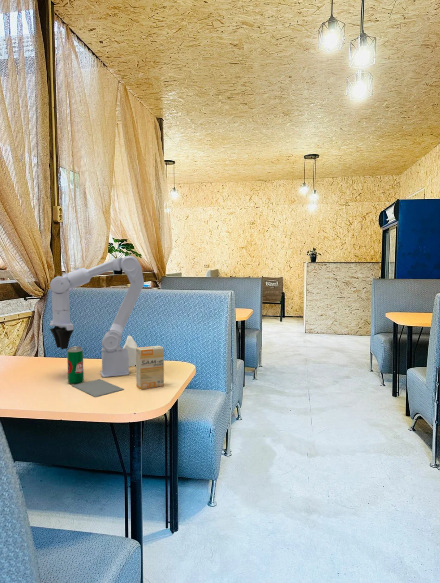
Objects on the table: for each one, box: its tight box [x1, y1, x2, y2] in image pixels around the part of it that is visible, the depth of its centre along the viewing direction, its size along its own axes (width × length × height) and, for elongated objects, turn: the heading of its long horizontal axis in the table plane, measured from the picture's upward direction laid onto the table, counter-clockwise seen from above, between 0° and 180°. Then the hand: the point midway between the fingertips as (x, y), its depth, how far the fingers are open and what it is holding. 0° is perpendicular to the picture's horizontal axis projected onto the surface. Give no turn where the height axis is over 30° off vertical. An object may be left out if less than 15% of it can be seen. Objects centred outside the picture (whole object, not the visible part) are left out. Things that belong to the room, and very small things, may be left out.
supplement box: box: [135, 345, 165, 390], centre depth 131 cm, size 8×5×13 cm, turn 118°
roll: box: [122, 334, 138, 368], centre depth 158 cm, size 6×12×6 cm
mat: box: [71, 378, 125, 398], centre depth 130 cm, size 16×10×1 cm, turn 45°
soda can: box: [66, 346, 85, 385], centre depth 136 cm, size 5×5×12 cm
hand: (62, 348), depth 142 cm, fingers open, 3 cm apart
